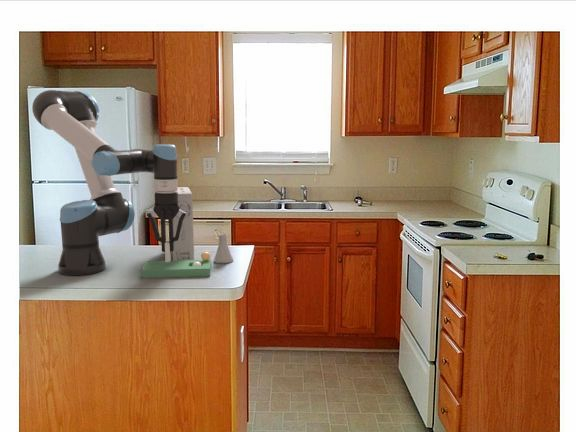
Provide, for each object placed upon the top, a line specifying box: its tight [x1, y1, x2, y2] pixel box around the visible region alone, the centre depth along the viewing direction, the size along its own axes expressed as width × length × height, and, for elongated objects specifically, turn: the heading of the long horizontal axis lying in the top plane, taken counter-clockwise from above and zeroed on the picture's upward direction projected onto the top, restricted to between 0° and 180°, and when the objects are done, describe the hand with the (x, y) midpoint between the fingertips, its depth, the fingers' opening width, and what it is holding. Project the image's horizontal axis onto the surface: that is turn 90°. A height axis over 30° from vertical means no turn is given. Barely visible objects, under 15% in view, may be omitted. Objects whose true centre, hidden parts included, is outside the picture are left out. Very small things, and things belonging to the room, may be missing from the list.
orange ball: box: [200, 251, 212, 261], centre depth 183 cm, size 3×3×3 cm
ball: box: [192, 262, 202, 266], centre depth 179 cm, size 3×3×3 cm
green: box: [141, 259, 213, 279], centre depth 178 cm, size 22×12×2 cm, turn 96°
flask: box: [213, 233, 234, 264], centre depth 192 cm, size 7×7×10 cm
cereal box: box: [171, 186, 195, 261], centre depth 201 cm, size 22×8×25 cm, turn 14°
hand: (168, 260), depth 178 cm, fingers closed
